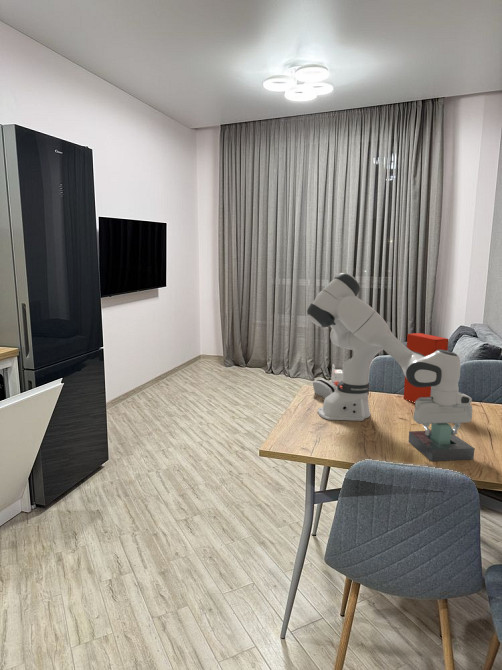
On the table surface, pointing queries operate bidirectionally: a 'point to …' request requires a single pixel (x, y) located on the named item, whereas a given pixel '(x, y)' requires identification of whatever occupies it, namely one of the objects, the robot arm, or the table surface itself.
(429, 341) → the file binder
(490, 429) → the table surface
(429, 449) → the collar block
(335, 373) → the ink cartridge box
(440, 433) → the sage green box
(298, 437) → the table surface
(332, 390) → the grey napkin holder
